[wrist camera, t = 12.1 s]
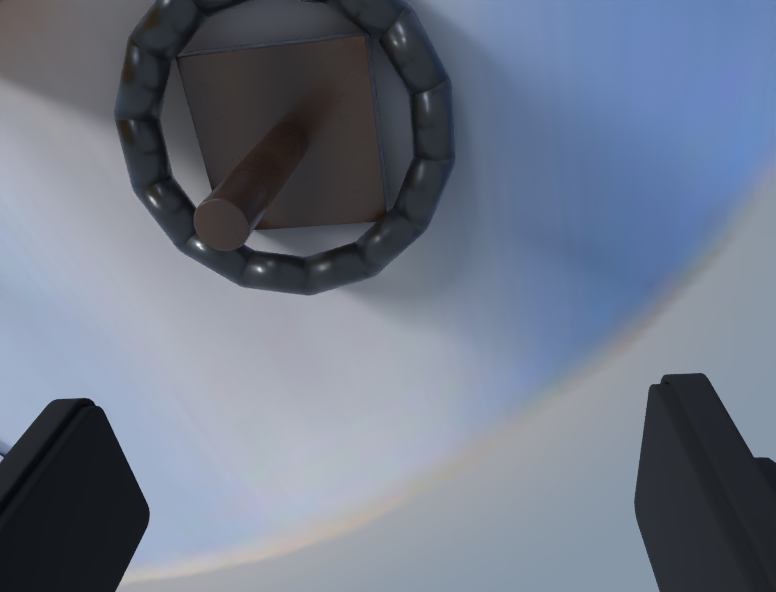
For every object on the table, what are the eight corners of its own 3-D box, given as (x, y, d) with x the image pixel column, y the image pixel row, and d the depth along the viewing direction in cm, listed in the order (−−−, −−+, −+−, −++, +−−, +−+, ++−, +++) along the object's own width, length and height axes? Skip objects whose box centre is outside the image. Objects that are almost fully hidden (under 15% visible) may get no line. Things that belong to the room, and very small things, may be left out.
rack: (231, 221, 34) (141, 337, 24) (187, 51, 30) (54, 109, 20) (390, 210, 33) (363, 326, 23) (368, 31, 28) (323, 80, 19)
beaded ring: (171, 298, 34) (157, 313, 32) (87, -34, 27) (65, -40, 26) (459, 275, 33) (463, 289, 31) (441, -74, 27) (444, -83, 25)
